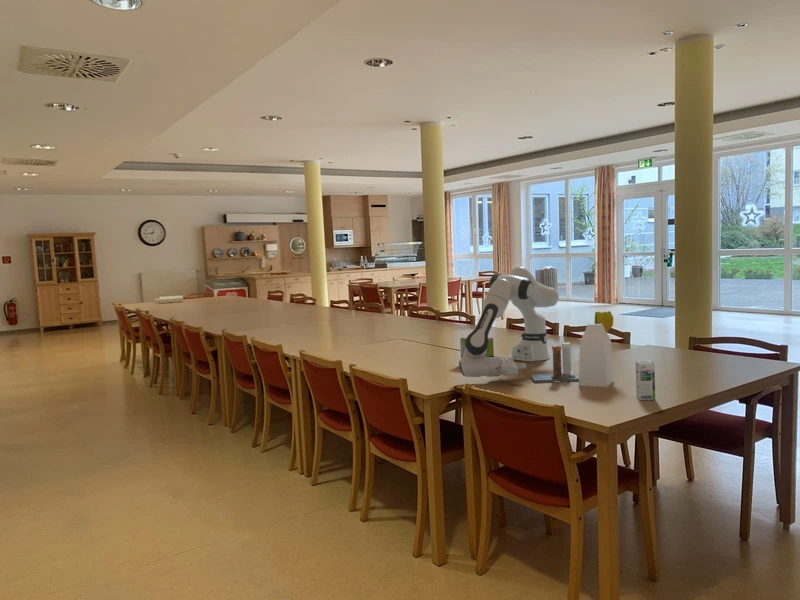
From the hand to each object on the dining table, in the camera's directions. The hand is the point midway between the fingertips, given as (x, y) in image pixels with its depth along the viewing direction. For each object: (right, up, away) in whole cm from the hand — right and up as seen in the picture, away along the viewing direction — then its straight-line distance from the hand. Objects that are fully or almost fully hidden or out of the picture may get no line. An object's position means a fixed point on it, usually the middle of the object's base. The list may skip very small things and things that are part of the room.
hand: (525, 365), depth 265 cm
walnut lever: (+14, -5, -1) cm, 15 cm away
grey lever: (+20, -4, +6) cm, 21 cm away
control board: (+14, -6, +3) cm, 15 cm away
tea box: (-16, -5, +44) cm, 47 cm away
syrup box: (+38, -9, -38) cm, 55 cm away
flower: (+37, -5, +3) cm, 38 cm away
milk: (+29, -7, -10) cm, 31 cm away
